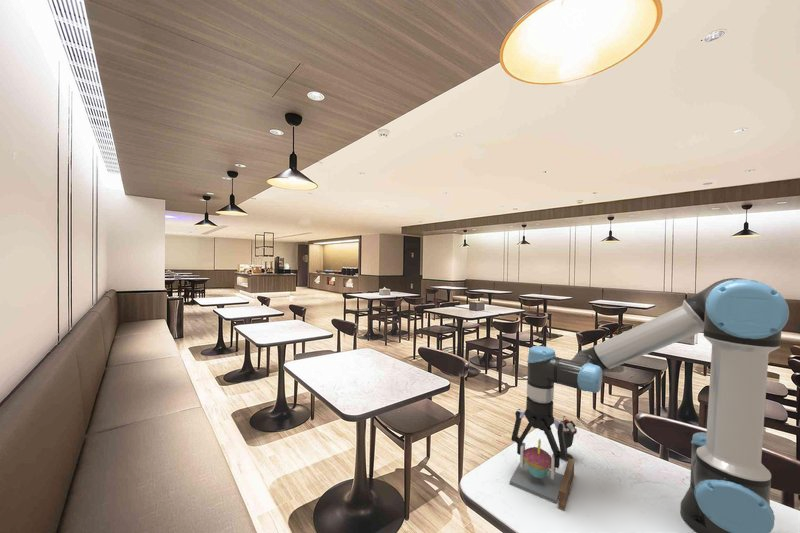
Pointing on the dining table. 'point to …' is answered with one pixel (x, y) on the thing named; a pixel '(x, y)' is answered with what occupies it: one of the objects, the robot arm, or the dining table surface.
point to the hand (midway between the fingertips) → (537, 470)
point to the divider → (566, 484)
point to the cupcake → (537, 461)
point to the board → (537, 483)
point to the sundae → (568, 435)
